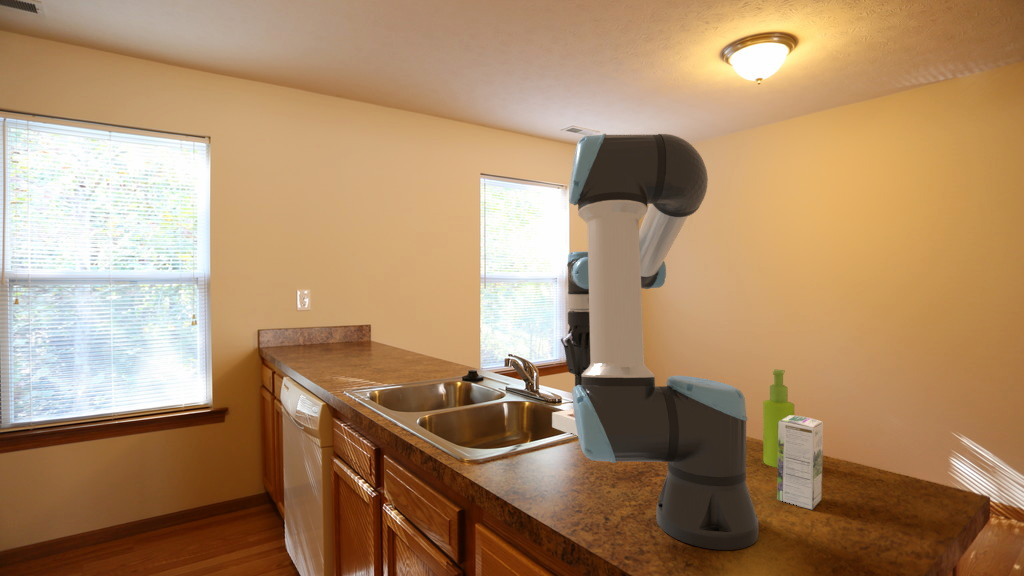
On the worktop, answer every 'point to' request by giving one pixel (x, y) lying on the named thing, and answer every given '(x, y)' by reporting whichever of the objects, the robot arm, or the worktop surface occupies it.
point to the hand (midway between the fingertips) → (582, 399)
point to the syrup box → (800, 461)
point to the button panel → (564, 421)
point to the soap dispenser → (774, 417)
